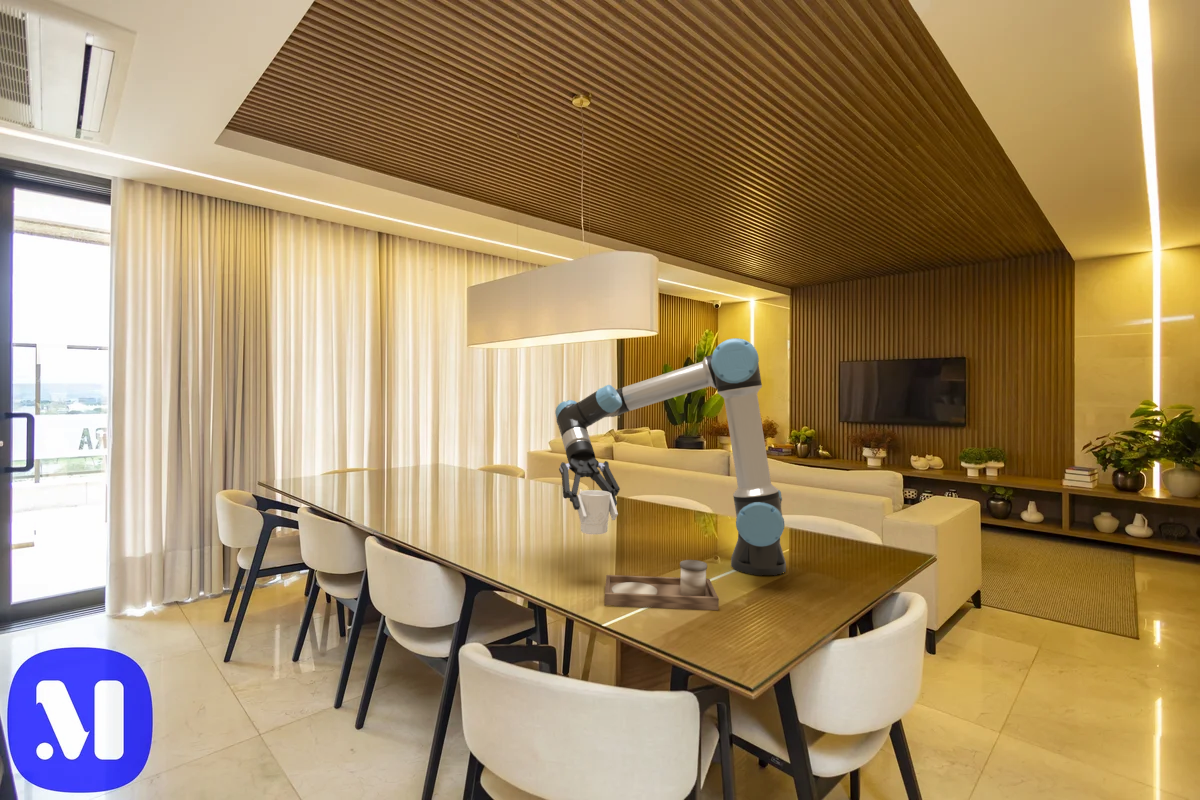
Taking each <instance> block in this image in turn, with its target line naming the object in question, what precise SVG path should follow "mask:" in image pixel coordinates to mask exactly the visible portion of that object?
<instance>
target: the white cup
mask: <svg viewBox="0 0 1200 800" xmlns="http://www.w3.org/2000/svg"><path fill="white" fill-rule="evenodd" d="M579 495H581V498H582V502H583V505H584V509H585V512H586V519H585V521H584V522H581V521H580V532H582V533H583V534H585V535H586V534H587V535H604V534H606V533H607V532H608V527H609V526H608V523H609V517H610V516H609V515H610V512H609V505H610V492H607V491H602V490H599V489H598V490H596V489H592V490H591V489H587V490H582V491H580V492H579Z"/></svg>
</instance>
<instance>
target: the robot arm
mask: <svg viewBox="0 0 1200 800" xmlns="http://www.w3.org/2000/svg"><path fill="white" fill-rule="evenodd" d="M759 361H760V358H759V354H758V351H757V349H756V347H755V346H754V345H753V344H752V343H751V342H749V341H748V340H746V339H743V338H735V337H734V338H729V339H728V338H727V339H726V340H724V341H722V342H721V343H719V344H718V345H717V346H716V348H715V349H714V350H713V352H712V354H710V355H707V356H705V357H703V360H702V361H700V362H697V363H693V364H690V365H688V366H684V367H681V368H678V369H675V370H672V371H669V372H665V373H663V374H660V375H657V376H654V377H650V378H648V379H645V380H642V381H638V382H635V383H632V384H629V385H626V386H623V387H620V388H617V389H616V388H615V387H613V385H611V384H607V385H605V386H602V387H601V388H598V389H597V390H596V391H595V392H593V393H591V394H589V395H588V396H587V397H584V398H583V399H582V400H580V401H578V402H577V401H576V400H572V399H569V400H567V401H562V402H560V403H559V404H558V405H557V406H556V407H555V411H554V412H555V413H554V414H555V417H556V418H555V419H556V424H557V427H558V430H559V433H560V437H561V440H562V444H563V447H564V451H565V455H566V459H567V462H568V463H565V462H561V464H560V466H559V468H558V470H559V473H560V474H561V483H562V487H561V488H562V496H563V499H567V498H568V499H569V501H570V502H571V504H572V507H573V509H574V511H577V513H578V516H579V520H580V523H581V522H584V521H585V519H586V512H585V509H584V505H583V502H582V498H581V495H580V494H578V491H579V485H580V482H581V478H585V477H586V478H590V479H591V480H592V481H594V482H595V483H596V485H597V486H598V487H599V488H600V489H601V491H607V492H610V505H609V515H610V518H611V520H612V521H615V520H616V518H617V517H618V515H619V513H618V510H617V505H618V500H617V498H616V497H617V496H618V494H619V492H620V490H621V488H620V486H619V484H618V482H617V480H616V478H615V477H614V475H613V473H612V471H611V469H610V466H609V461H608V460H607V461H604V462H599V461H598V459H597V458H596V453H595V451H594V448H593V444H592V441H591V438H590V435H589V432H588V430H587V428H588V427H590V426H592V425H593V424H595V423H598V422H599V421H600V420H602V419H604V418H609V417H611V418H615V417H617V416H620V415H622V414H625V413H627V412H631V411H634V410H637V409H641V408H643V407H647V406H650V405H653V404H657V403H660V402H664V401H666V400H669V399H673V398H675V397H679V396H683V395H686V394H689V393H692V392H695V391H698V390H702V389H705V388H709V387H711V388H714V389H716V391H717V394H718V395H719V396H720V397H722V398H723V400H724V404H725V405H724V407H725V413H726V419H727V425H728V432H729V437H730V444H731V450H732V451H731V452H732V456H733V458H732V459H733V463H734V470H735V477H736V483H737V489H735V491H734V492H733V494H732V495H733V496H732V497H733V501H734V510H735V515H736V520H735V527H736V530H737V532H738V534H737V540H736V544H735V547H734V549H733V552H732V554H731V558H730V567H731V568H732V567H733V568H732V569H734V570H736V571H738V570H739V571H738V572H740V571H742V572H741V573H744V572H745V573H744V574H748V573H749V574H748V575H753V574H754V575H755V576H762V575H774V576H778V575H777V574H780V575H782V574H781V573H783V572H785V573H786V572H787V571H786V570H787V568H786V567H787V562H786V559H785V556H784V551H783V549H782V545H781V536H782V535H783V533H784V529H785V519H784V517H783V512H782V501H783V497H782V491H781V490H780V489H779V488H777V487H776V486H774V485H773V484H772V480H771V473H770V467H769V461H768V455H767V448H766V444H765V443H766V442H765V435H764V431H763V422H762V416H761V411H760V410H761V409H760V403H759V398H758V392H759V391H760V390H761V388H762V387H763V384H762V383H763V382H762V377H761V372H760V371H761V369H760V365H759ZM569 470H570V471H572V472H573V473H574V478H573V483H572V487H570V476H569V475H570V474H569ZM601 472H602V473H601ZM783 574H784V573H783ZM754 575H753V576H754Z"/></svg>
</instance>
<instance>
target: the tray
mask: <svg viewBox="0 0 1200 800" xmlns="http://www.w3.org/2000/svg"><path fill="white" fill-rule="evenodd" d="M679 567H680V577H671V576H649V575H648V576H647V575H645V576H643V575H621V574H619V575H618V574H617V575H616V574H606V576H605V586H604V587H605V588H604V606H605V605H614V606H613V607H625V606H630V607H629V608H650V607H651V608H655V609H676V610H677V609H679V610H680V609H681V610H701V611H702V610H704V611H705V610H707V611H719V605H720V604H719V602H720V601H719V600H720V598H719V596H718V594H717V592H716V590H715V588H714V586H713V584H712V581H711V579H710V578H707V569H708V563H707V562H705V561H702V560H697V559H685V560H682V561H680V562H679Z"/></svg>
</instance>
